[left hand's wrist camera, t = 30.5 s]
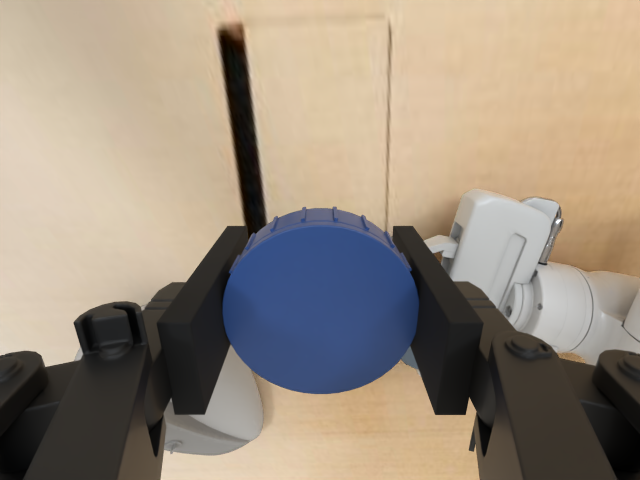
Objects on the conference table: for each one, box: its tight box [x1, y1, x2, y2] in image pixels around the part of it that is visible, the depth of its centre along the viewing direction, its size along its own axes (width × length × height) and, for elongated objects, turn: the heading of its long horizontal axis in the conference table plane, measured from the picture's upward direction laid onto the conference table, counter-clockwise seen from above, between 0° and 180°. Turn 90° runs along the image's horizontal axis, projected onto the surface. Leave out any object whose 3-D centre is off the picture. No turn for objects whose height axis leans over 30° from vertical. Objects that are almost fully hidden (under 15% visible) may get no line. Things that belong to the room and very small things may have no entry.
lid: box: [222, 207, 419, 394], centre depth 11 cm, size 6×6×2 cm
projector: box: [75, 304, 264, 455], centre depth 39 cm, size 22×23×15 cm
